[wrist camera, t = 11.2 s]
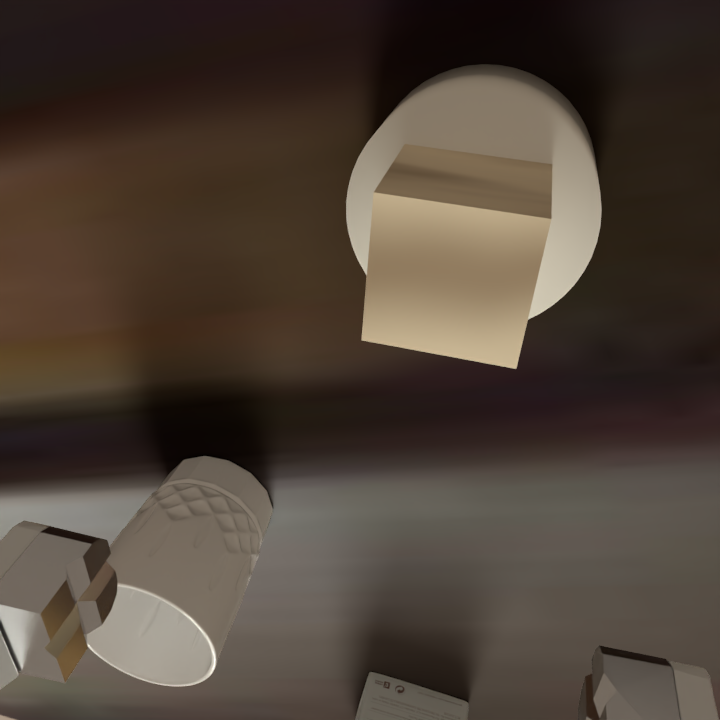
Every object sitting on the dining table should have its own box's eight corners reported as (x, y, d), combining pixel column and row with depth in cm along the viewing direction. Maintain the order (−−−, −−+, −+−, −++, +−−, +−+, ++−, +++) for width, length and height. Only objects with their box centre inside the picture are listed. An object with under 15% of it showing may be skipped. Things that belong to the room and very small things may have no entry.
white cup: (144, 445, 41) (42, 577, 33) (265, 447, 39) (188, 589, 31) (183, 539, 45) (101, 678, 37) (295, 546, 43) (234, 695, 35)
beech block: (522, 296, 26) (516, 368, 22) (391, 274, 27) (361, 340, 22) (552, 164, 23) (551, 219, 19) (405, 143, 24) (373, 192, 20)
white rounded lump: (565, 296, 30) (566, 350, 27) (365, 261, 32) (339, 308, 28) (624, 79, 25) (635, 108, 21) (382, 49, 26) (354, 72, 23)
